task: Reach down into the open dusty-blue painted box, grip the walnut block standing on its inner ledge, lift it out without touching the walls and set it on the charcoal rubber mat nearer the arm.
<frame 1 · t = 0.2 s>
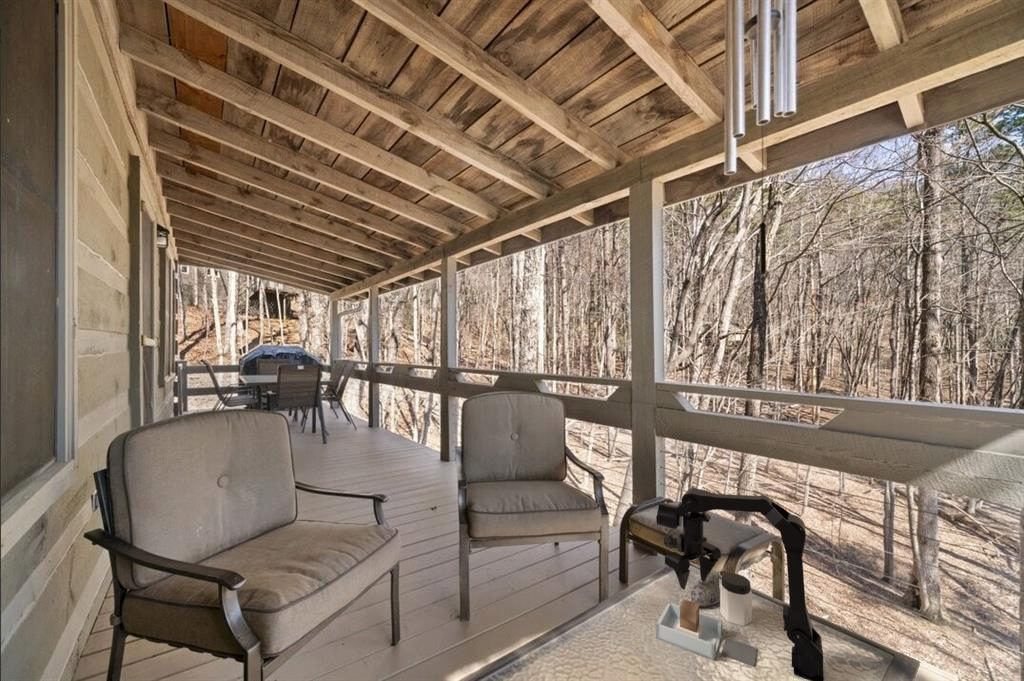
hand: (693, 584, 129), 14 cm above the table, tool pointing down, fingers open, 9 cm apart
walnut block: (689, 625, 127), point 3 cm above the table, touching access box
jar: (735, 617, 136), on the table
rubber mat: (739, 652, 120), on the table
access box: (689, 636, 127), on the table
mineral rock: (704, 601, 145), on the table
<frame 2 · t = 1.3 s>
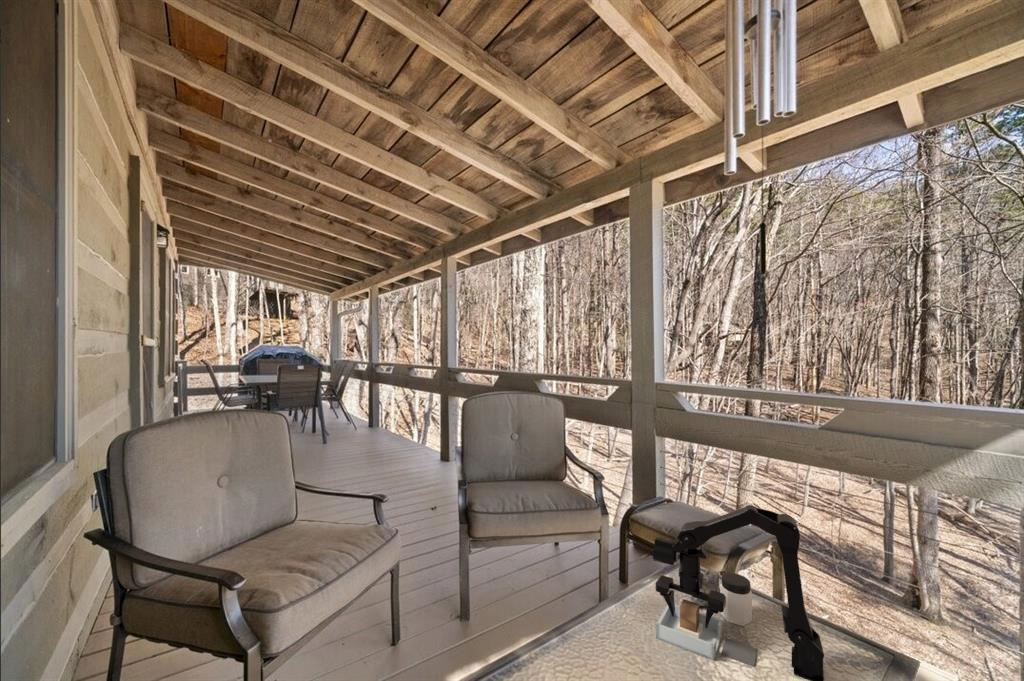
hand: (689, 621, 127), 4 cm above the table, tool pointing down, fingers open, 9 cm apart
nothing on the table moved.
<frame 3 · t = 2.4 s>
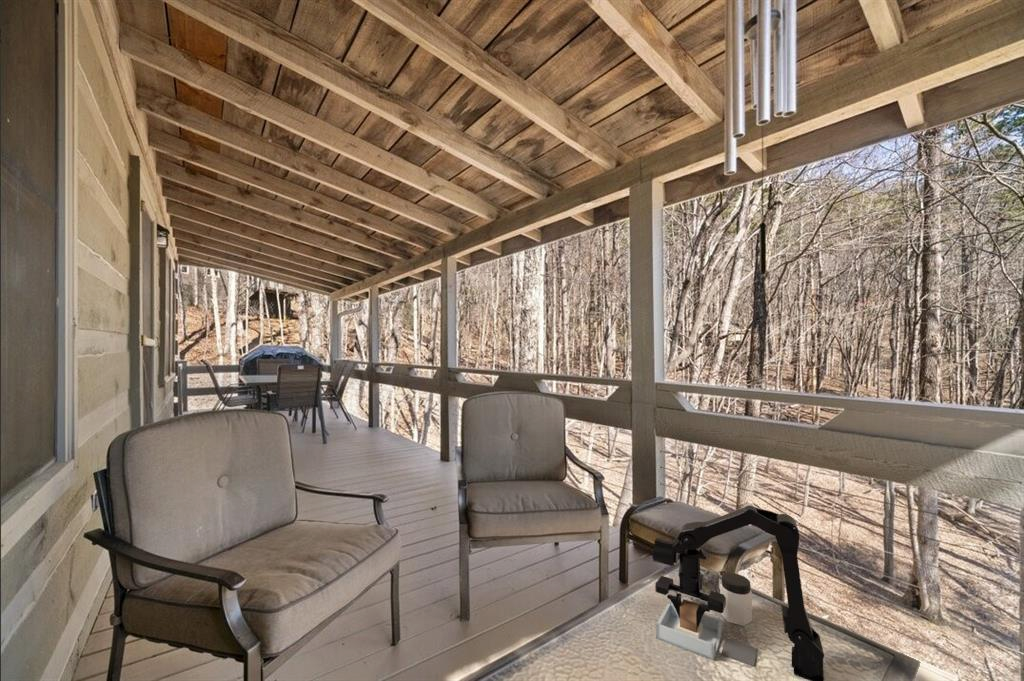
hand: (689, 622, 127), 4 cm above the table, tool pointing down, fingers closed on walnut block, 4 cm apart
walnut block: (689, 625, 127), point 3 cm above the table, touching access box, gripper
everything else where it was.
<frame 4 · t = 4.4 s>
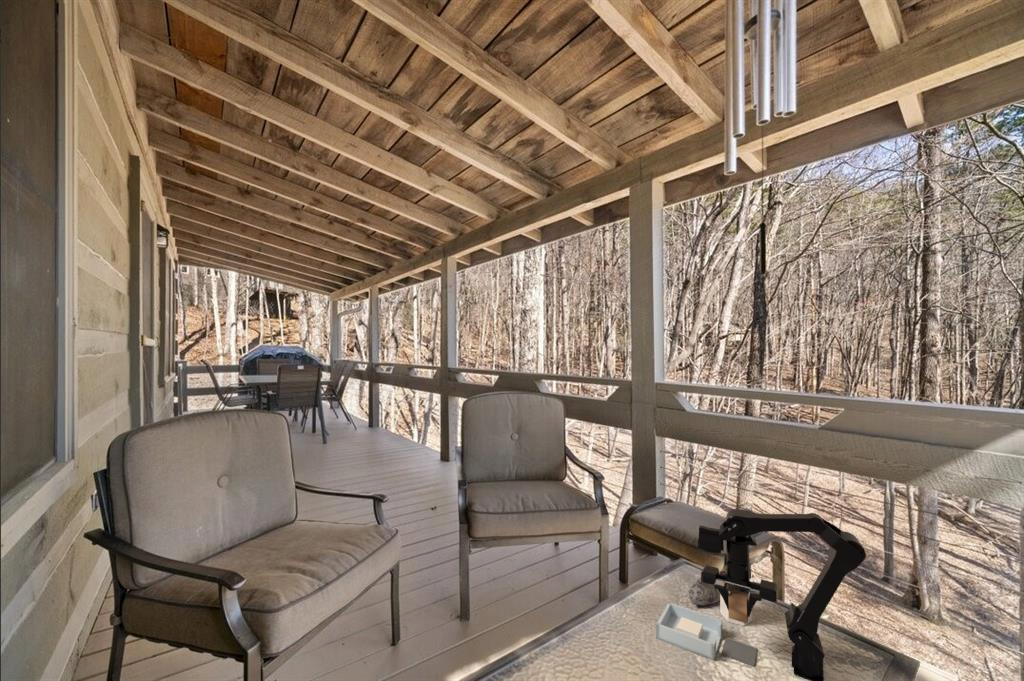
hand: (738, 613, 121), 11 cm above the table, tool pointing down, fingers closed on walnut block, 4 cm apart
walnut block: (738, 616, 121), point 10 cm above the table, touching gripper
everything else where it was.
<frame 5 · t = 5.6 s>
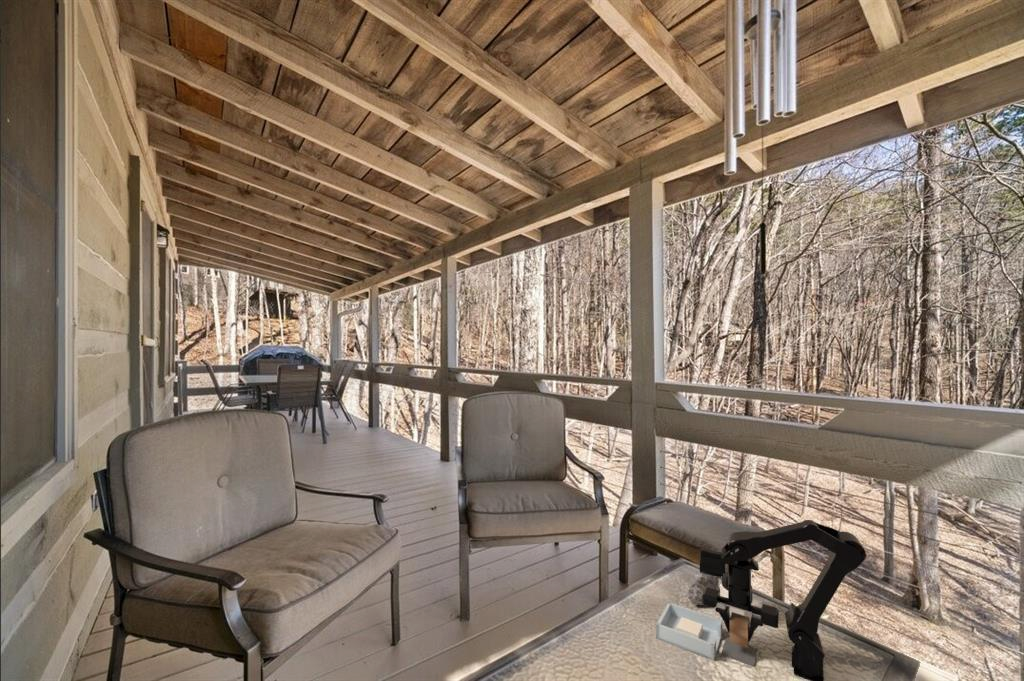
hand: (739, 636, 120), 4 cm above the table, tool pointing down, fingers closed on walnut block, 4 cm apart
walnut block: (739, 640, 120), point 3 cm above the table, touching gripper
everything else where it was.
when the fingers open (3 cm above the table, at t = 6.6 s): walnut block drops 2 cm, resting on rubber mat.
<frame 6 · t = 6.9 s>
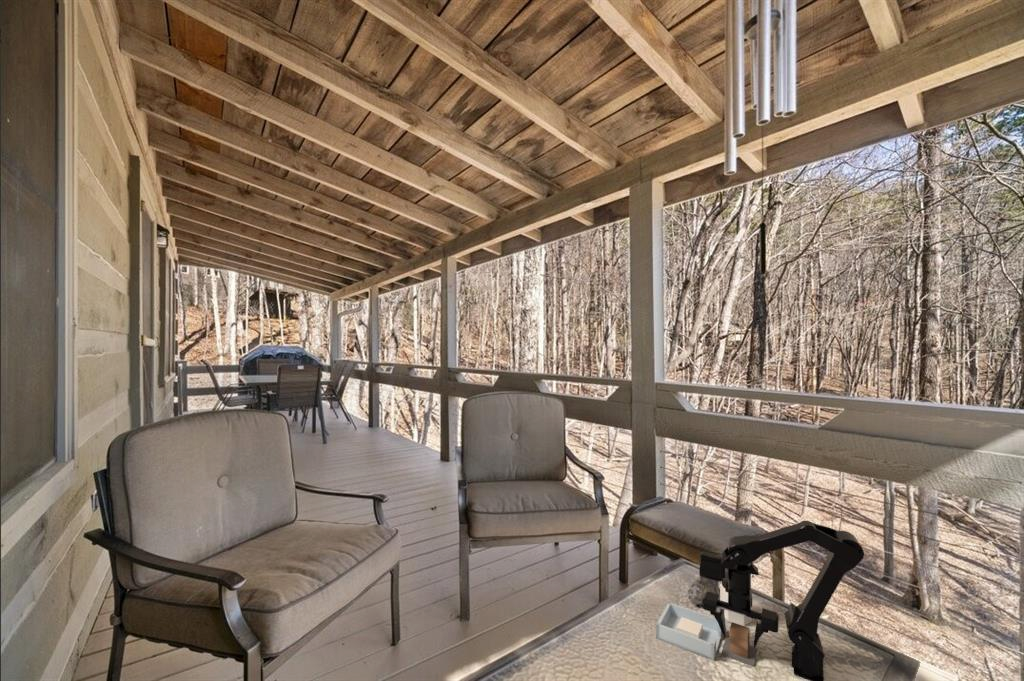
hand: (739, 641, 120), 3 cm above the table, tool pointing down, fingers open, 7 cm apart
walnut block: (739, 650, 120), resting on rubber mat
everything else where it was.
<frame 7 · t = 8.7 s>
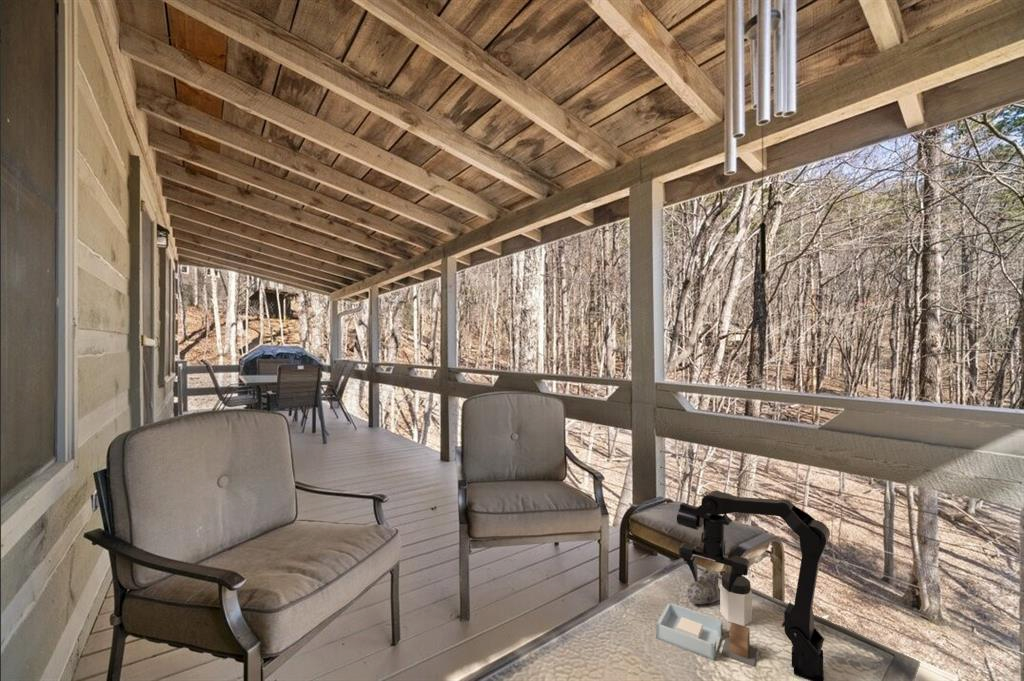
hand: (712, 586, 130), 13 cm above the table, tool pointing down, fingers open, 9 cm apart
nothing on the table moved.
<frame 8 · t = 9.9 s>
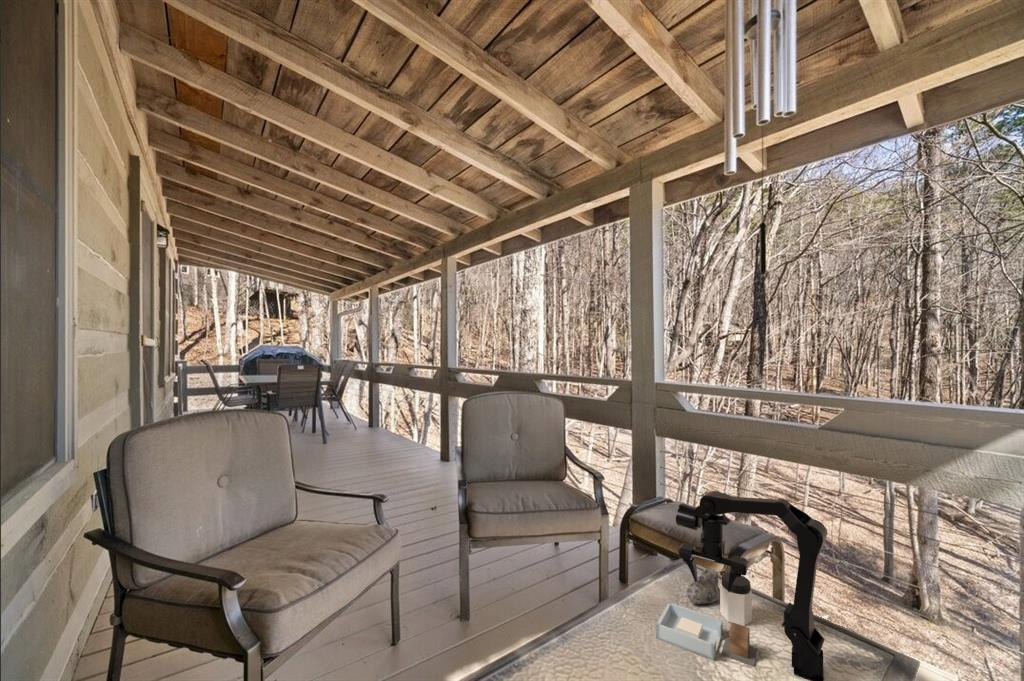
hand: (712, 586, 130), 13 cm above the table, tool pointing down, fingers open, 9 cm apart
at the end: walnut block inside the target area on the rubber mat (0.0 cm from its centre), point 0.4 cm above the rubber mat's base; walnut block tilted 0°; walnut block touching rubber mat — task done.
